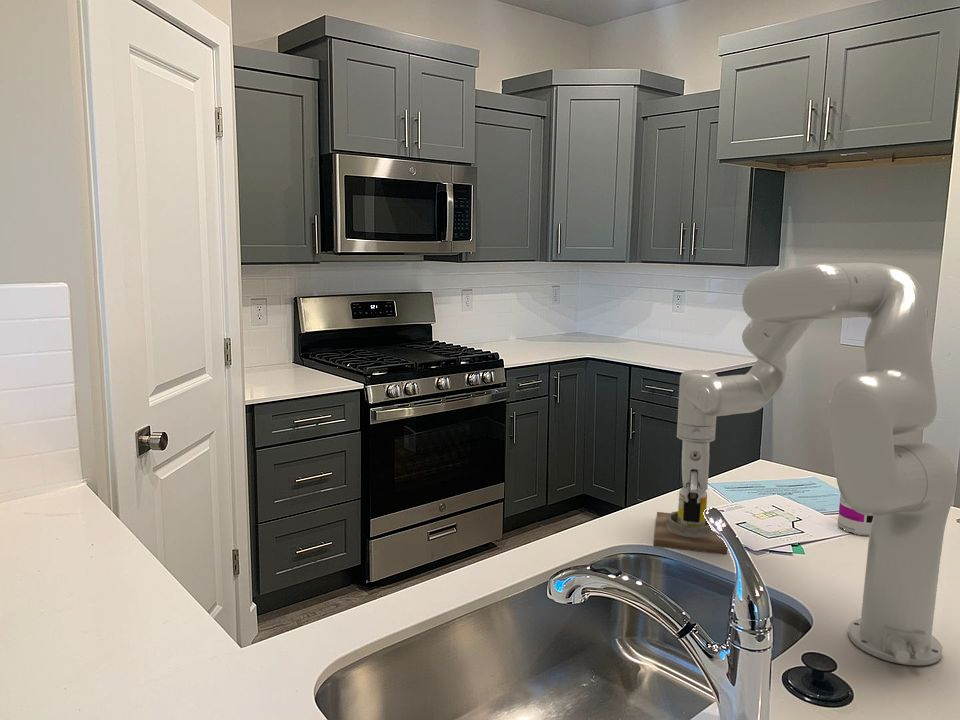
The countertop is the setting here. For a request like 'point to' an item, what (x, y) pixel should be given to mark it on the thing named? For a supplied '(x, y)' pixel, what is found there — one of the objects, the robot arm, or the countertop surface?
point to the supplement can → (853, 519)
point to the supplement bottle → (703, 506)
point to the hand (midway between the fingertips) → (691, 514)
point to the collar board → (686, 535)
